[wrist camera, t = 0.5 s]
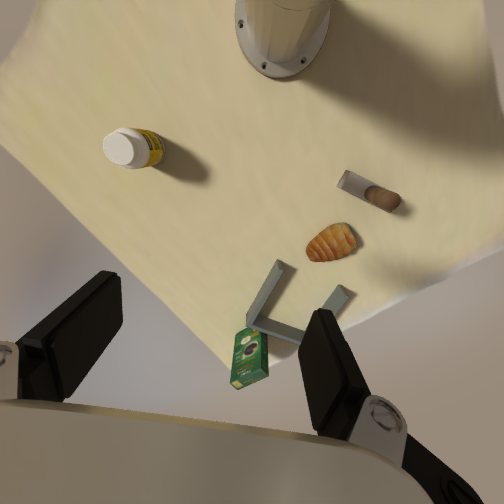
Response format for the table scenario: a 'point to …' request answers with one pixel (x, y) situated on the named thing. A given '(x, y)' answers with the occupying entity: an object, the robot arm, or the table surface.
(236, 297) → the table surface
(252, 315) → the u-shaped bracket
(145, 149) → the supplement bottle
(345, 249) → the pastry
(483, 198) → the table surface
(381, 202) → the stamp with brown handle
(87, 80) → the table surface
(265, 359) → the coffee box
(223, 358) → the table surface
